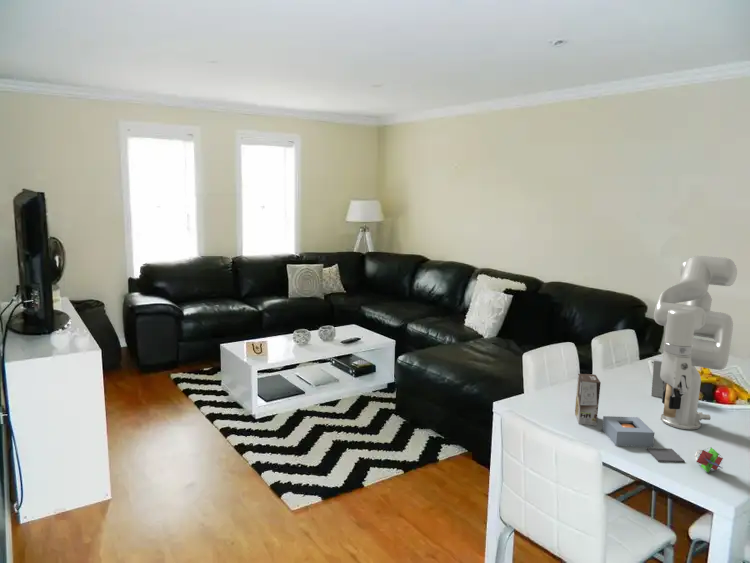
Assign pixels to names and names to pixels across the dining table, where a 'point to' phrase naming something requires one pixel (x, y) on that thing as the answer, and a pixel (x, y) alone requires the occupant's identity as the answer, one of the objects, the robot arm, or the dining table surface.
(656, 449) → the rubber pad
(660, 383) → the skincare box
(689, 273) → the robot arm
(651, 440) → the grey button housing
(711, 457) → the geometric puzzle
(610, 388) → the dining table surface
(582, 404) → the coffee box
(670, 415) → the beech dowel
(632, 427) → the orange push button
